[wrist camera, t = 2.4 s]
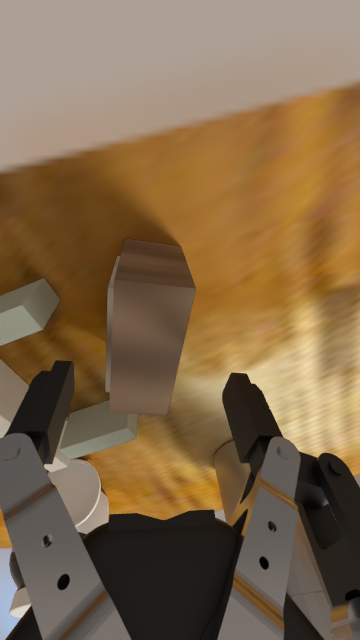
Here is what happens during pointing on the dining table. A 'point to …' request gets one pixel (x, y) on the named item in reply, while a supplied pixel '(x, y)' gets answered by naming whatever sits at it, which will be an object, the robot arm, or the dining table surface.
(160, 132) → the dining table surface
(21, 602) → the spread jar
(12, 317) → the ledge
